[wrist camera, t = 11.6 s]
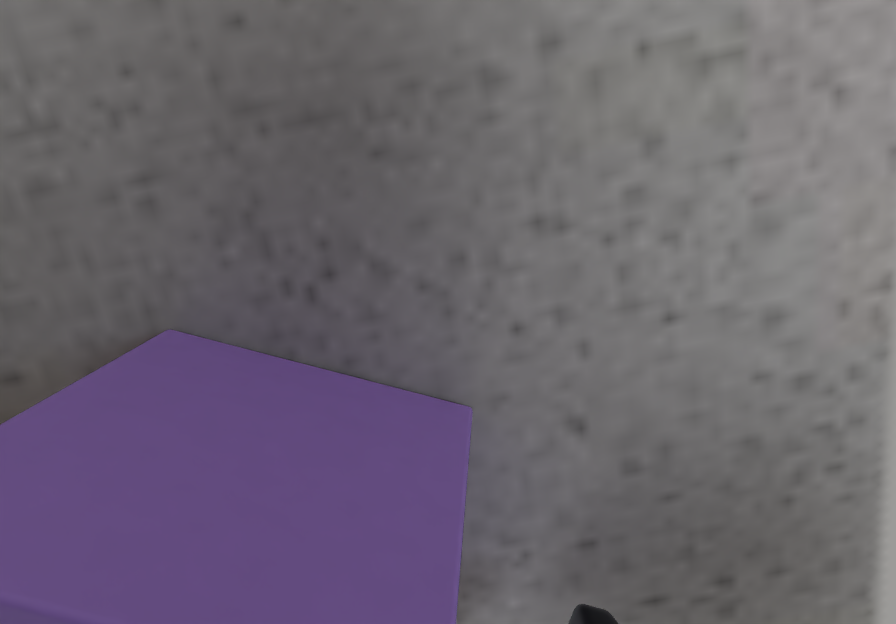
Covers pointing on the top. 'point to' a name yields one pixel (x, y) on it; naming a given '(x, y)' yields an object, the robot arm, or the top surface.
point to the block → (231, 495)
